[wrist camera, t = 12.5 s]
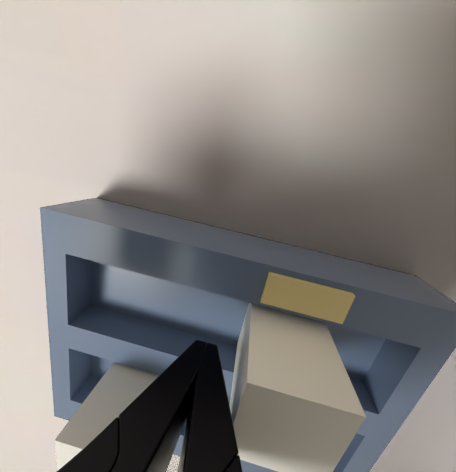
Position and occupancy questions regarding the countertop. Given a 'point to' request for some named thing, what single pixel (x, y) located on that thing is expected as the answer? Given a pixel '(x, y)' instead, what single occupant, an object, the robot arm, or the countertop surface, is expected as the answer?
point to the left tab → (101, 409)
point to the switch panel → (229, 309)
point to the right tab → (291, 394)
